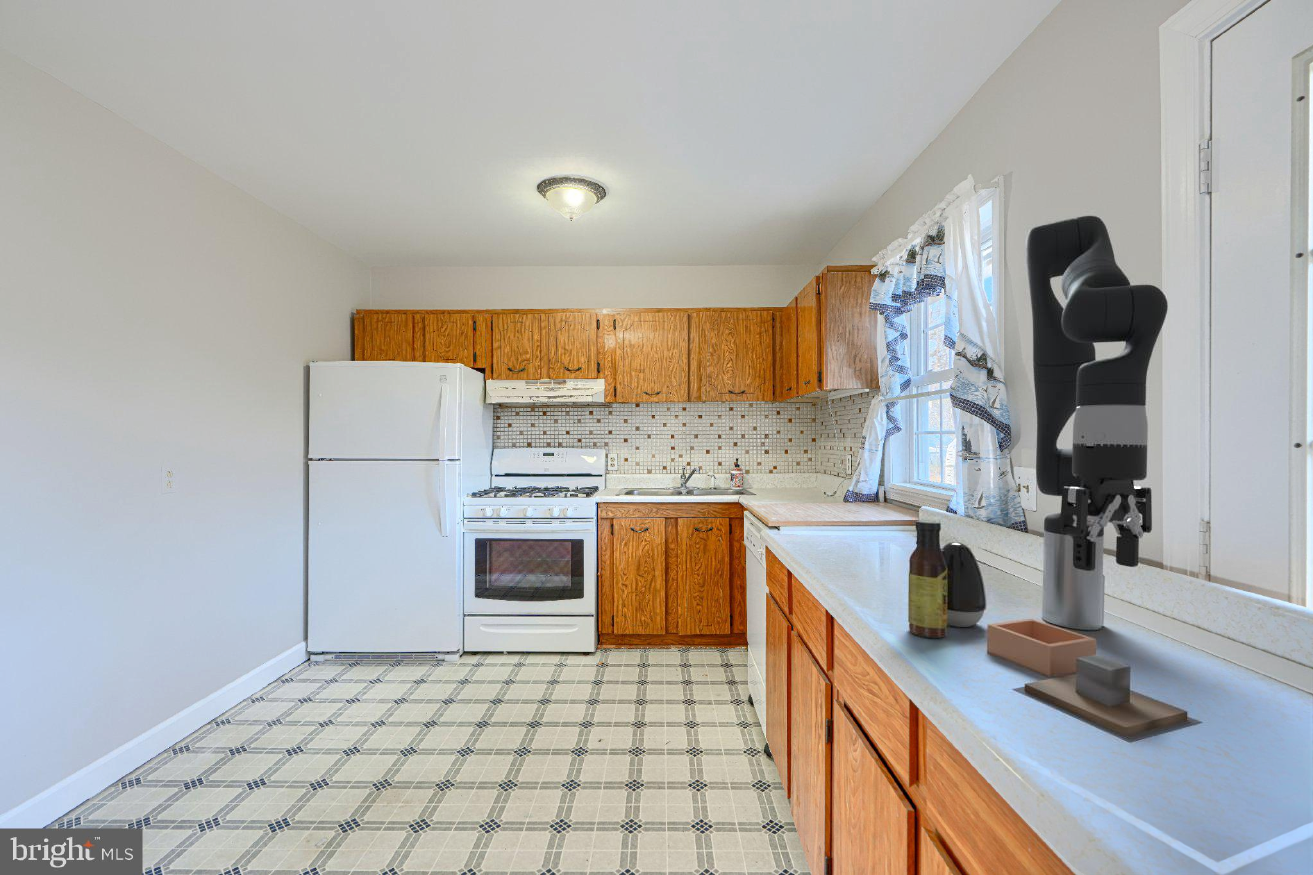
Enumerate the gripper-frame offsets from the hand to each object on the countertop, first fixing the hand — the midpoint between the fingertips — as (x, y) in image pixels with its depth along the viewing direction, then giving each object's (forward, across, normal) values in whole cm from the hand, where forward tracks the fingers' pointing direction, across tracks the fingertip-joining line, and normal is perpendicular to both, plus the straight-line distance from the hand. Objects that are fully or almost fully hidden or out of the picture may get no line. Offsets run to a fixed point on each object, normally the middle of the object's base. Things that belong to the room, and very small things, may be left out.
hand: (1105, 567), depth 72 cm
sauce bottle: (+18, -1, -29) cm, 34 cm away
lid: (+18, 0, 0) cm, 18 cm away
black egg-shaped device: (+18, -11, -32) cm, 39 cm away
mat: (+18, 0, 0) cm, 18 cm away
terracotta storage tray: (+18, -7, -13) cm, 24 cm away
